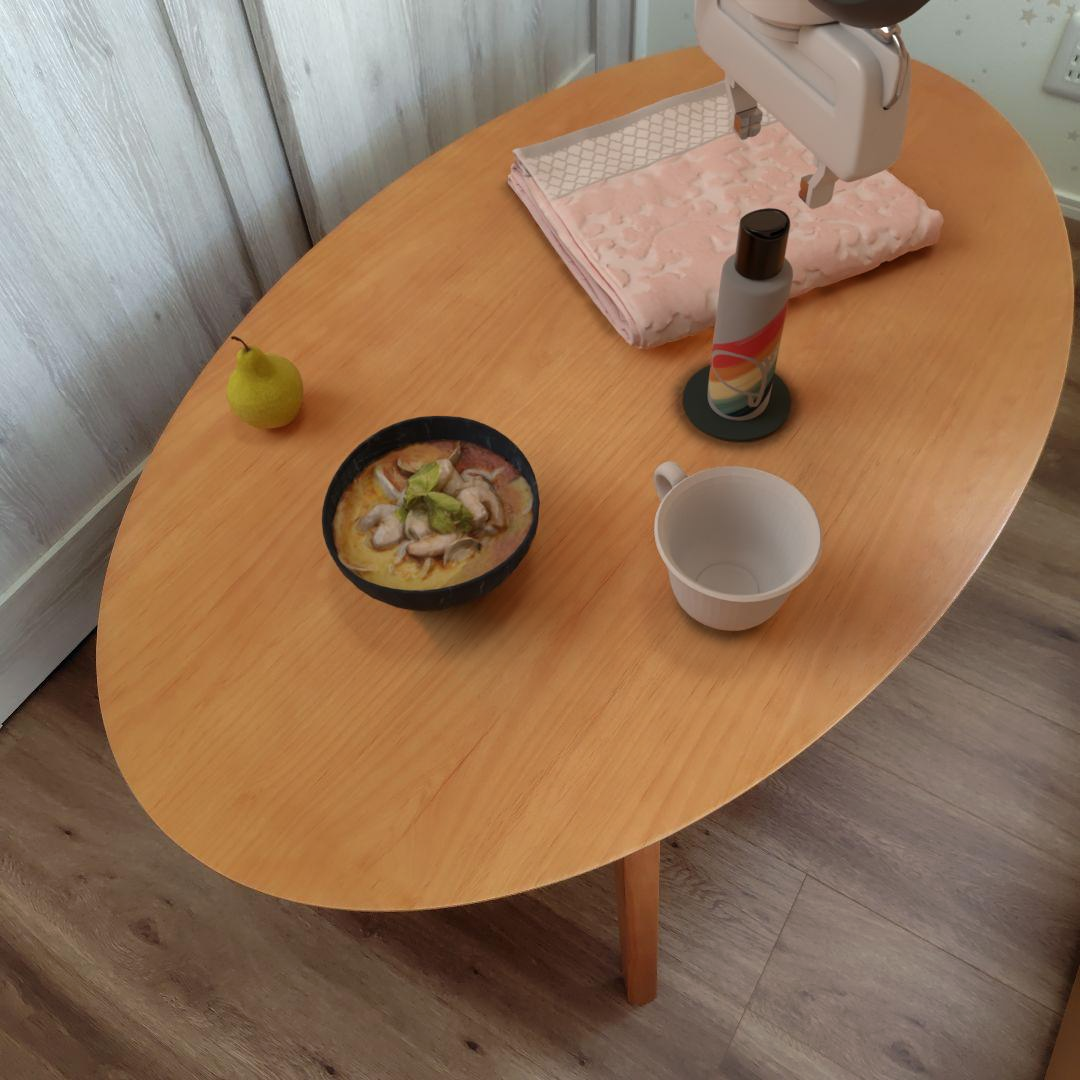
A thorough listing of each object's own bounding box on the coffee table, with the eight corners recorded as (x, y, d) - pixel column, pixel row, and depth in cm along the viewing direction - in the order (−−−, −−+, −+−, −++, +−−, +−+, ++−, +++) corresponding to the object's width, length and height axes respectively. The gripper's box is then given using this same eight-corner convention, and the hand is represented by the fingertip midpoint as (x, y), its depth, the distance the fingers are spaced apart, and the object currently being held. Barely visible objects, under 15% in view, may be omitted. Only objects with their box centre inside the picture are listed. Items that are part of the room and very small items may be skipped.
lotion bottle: (730, 431, 86) (757, 251, 69) (694, 392, 89) (712, 211, 72) (781, 406, 87) (819, 224, 71) (744, 369, 90) (773, 186, 74)
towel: (764, 98, 116) (770, 52, 112) (942, 254, 98) (958, 207, 93) (500, 185, 110) (495, 140, 105) (637, 371, 91) (639, 326, 86)
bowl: (336, 656, 76) (302, 591, 67) (355, 487, 85) (328, 413, 77) (548, 646, 75) (540, 579, 67) (543, 477, 85) (535, 400, 76)
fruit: (256, 387, 93) (214, 293, 84) (322, 393, 92) (287, 298, 83) (232, 440, 90) (184, 347, 80) (299, 447, 89) (260, 353, 79)
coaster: (755, 350, 92) (755, 347, 92) (811, 419, 86) (812, 416, 86) (663, 384, 90) (663, 381, 90) (715, 456, 85) (716, 453, 84)
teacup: (709, 494, 82) (719, 417, 74) (833, 612, 75) (859, 540, 67) (598, 564, 79) (596, 492, 71) (717, 695, 71) (730, 630, 63)
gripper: (962, 21, 51) (902, 233, 63) (766, -113, 63) (745, 87, 74) (863, 53, 50) (820, 262, 62) (681, -89, 62) (673, 110, 73)
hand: (778, 166), depth 68 cm, fingers open, 8 cm apart
